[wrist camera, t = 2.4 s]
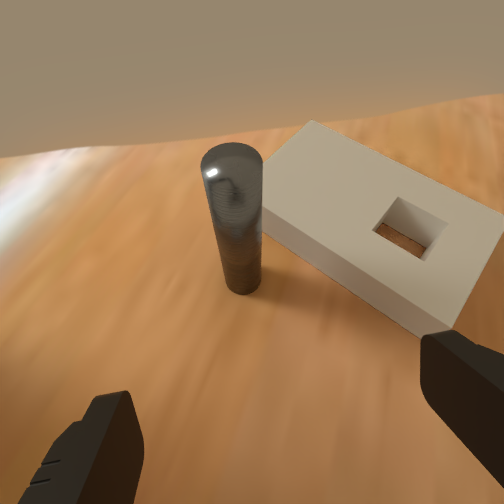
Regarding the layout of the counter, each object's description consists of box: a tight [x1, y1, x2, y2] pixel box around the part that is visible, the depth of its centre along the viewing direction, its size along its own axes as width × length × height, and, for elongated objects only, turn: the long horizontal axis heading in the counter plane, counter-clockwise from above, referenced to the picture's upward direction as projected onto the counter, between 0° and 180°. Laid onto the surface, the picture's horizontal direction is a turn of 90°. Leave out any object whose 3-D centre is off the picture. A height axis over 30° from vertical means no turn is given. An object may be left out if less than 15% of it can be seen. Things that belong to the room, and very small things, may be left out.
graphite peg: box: [201, 142, 263, 295], centre depth 22 cm, size 3×3×14 cm
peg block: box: [262, 119, 504, 339], centre depth 29 cm, size 20×12×4 cm, turn 50°
